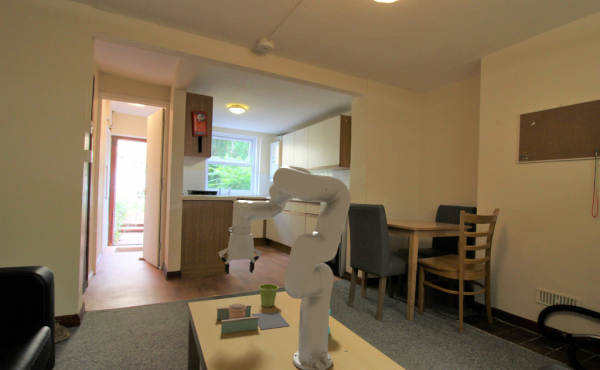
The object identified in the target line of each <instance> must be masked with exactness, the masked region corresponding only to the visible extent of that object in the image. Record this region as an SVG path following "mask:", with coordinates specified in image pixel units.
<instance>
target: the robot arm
mask: <svg viewBox="0 0 600 370" xmlns="http://www.w3.org/2000/svg"><path fill="white" fill-rule="evenodd" d="M272 183H273V184H271V185H270V187H269V190H268V194H269V199H267V200H246V199H245V200H241V199H238V200H235V201H234V202H233V209H232V226H230V227H228V231H229V232H230V236H229V238H228V246H227V248H225V249H223V250H221V251H218V255H219V257H220V259H221V261H222V262H224V272H225V273H226V274H227V275H229V274H230V262H231V261H232V260H235V261H237V260H250V261H249V269H248V270H249V272H250V273H251V274H253V273H254V270H255V263H257V261H258V260H259V258H260V256H261V254H262V251H261V250H259V249H257V248H255V246H254V245H255V244H254V242H255V241H254V235H253V233H251V232H252V221H259V220H260V221H263V220H270V219H273V218H274V217H276V216H278V215H279V214H281V213H283V211H284V210H285V208H286V206H287V205H286V204H287V203H289V202H290V201H291V200H293V199H294V198H295V199H298V200H300V201H302V202H306V203H325V205H324V207H323V208H322V209H321V211H320V213H319V214H318V216H317V220H316V224H315V227H314V230H313V231H312V232H306V233H303V234H301V235H299V236H298V237H297V238H296V239H295V240H294V242H293V244H292V245H291V249H290V252H289V257H288V261H287V265H286V267H285V273H284V279H283V285H284V290H285V292H286V293H287V294H288V297H290V298H292V299H295V300H300V305H299V324H298V326H299V327H298V345H297V346H298V348H297V349H298V350H297V351H295V352H294V354H293V356H292V361H293V364H294V365H295V366H296V367H297V368H298V369H301V370H328V369H329V368H331V366H332V364H333V358H332V356H331V354H330V353H329V352H328V351H329V335H328V330H329V328H330V316H329V308H330V306H331V305H330V303H331V295H332V290H333V287H334V273H333V270H332V268H331V267H330V266H329V265H328V264H326V263H327V262H330V261H332V260H333V259H334V258H335V257H336V255H337V253H338V249H339V245H340V242H341V239H342V238H341V237H342V234H343V230H344V227H345V223H346V219H347V216H348V213H349V211H350V206H351V193H350V190H349V188H348V186H347V185H346V183H345V182H343V180H341V179H339V178H337V177H334V176H329V175H321V174H320V175H319V174H312V173H311V171H310V170H308V169H306V168H304V167H300V166H293V165H292V166H291V165H283V166H280V167H279V168H277V169H276V170H275V171H274V174H273V175H272ZM226 253H227V257H226V258H225V256H224V255H225V254H226ZM254 253H256V255H255V256H254Z"/></svg>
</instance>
